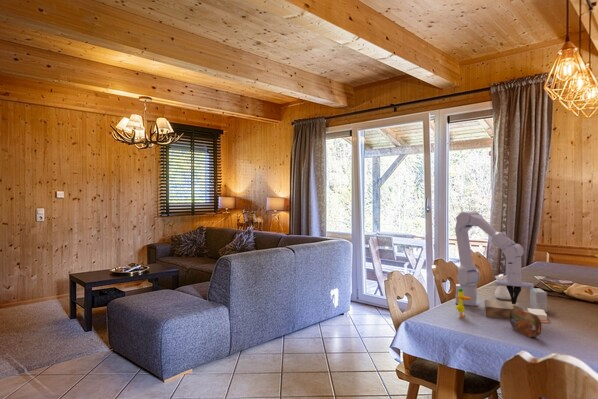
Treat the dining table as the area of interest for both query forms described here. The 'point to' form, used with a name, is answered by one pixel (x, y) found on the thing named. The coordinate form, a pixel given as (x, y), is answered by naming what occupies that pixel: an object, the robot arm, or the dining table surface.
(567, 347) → the dining table surface
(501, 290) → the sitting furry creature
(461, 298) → the toy figure
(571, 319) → the dining table surface
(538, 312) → the thick cream tile
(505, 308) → the wooden block
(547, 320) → the mat
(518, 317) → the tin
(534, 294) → the medicine box
